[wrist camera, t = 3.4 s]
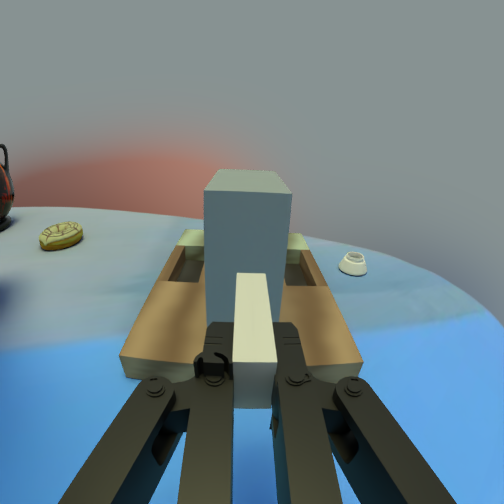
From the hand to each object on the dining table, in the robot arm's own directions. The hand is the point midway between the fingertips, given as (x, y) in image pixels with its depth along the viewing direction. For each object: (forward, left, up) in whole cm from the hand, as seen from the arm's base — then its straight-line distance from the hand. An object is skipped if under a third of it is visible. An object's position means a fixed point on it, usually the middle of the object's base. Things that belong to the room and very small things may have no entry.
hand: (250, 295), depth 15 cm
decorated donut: (-40, +37, -13) cm, 56 cm away
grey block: (0, +12, -10) cm, 15 cm away
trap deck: (0, +21, -13) cm, 24 cm away
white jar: (+19, +29, -13) cm, 37 cm away
